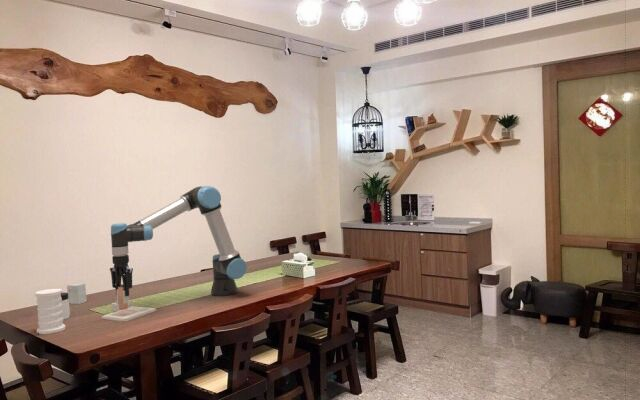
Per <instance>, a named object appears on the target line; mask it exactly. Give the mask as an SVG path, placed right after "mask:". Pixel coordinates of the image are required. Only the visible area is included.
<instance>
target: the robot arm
mask: <svg viewBox="0 0 640 400" xmlns="http://www.w3.org/2000/svg"><path fill="white" fill-rule="evenodd" d="M221 200H222V195H221V193H220V191H219V189H217V188H216V187H214V186H210V185H205V186H197V187H194V188H192V189H190V190H189V191H187V192H186V193H184V194H182V195H180V198H178V199H176V200H175V201H173V202H172V203H169V204H168V205H166V206H164V207H162V208H160V209H158V210H156V211H154V212H152V213H151V214H148V215H147V216H145V217H143V218H141V219H139V220H138V221H136V222H133V223H132V224H131V223H130V224H127V223H125V222H124V223H123V222H121V223H114V224H111V225H110V237H111V239H110V241H111V254H112V258H111V259H112V264H113V267H110V268H109V272H110V275H111V284H112V285H111V287H112V288H113V289H115V295H116V302H117V303H119V299H118V287H119V286H120V285H121V284H123V286H124V289H123V303H128V302H129V301H130V289H132V288H133V271H134V269H133V268H132V267H131V268H130V267H129V263H130V257H129V243H133V242H143V241H145V242H147V241H150V240H152V239H153V236H154V232H153V231H154V229H156V228H158V227H160V226H161V225H163V224H166V223H167V222H169V221H171V220H172V219H174V218H176V217H179V215H181V214H183V213H185V212H191V211H192V210H194V209H199V212H200V215H202V216H204V217H205V220H206V222H207V225H208V227H209V230H210V232H211V235H212V238H213V240H214V241H213V242H215V243H214V244H215V245H216V248H217V251H218V253H219V254H213V255H212V261H211V262H212V272H213V274H212V275H213V276H212V277H213V282H212V285H211V289H210V294H211V295H212V296H217V297H220V296H221V297H224V296H225V297H226V296H231V294H232V295H235V294H237V293H238V292H239V291H238V287H237V284H236V280H239V279H241V278H243V277H244V276H245V274H246V271H247V268H248V267H247V266H248V264H247V262H246V261H245V260H244V259H243V258H241V255H240V252H239V250H236V249H235V246H234V243H233V241H232V239H231V236H230V233H229V230H228V228H227V225H226V222H225V220H224V217H223V214H222V212H221V209H222V204H221Z"/></svg>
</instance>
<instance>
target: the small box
mask: <svg viewBox="0 0 640 400" xmlns="http://www.w3.org/2000/svg"><path fill="white" fill-rule="evenodd" d="M66 288H67V289H66V290H67V292H66V293H68V296H69V303H70V304H71V305H80V304H83V303H86V302H87V290H86V283H81V282H80V283H79V282H78V283H76V282H75V283H70V284H67V285H66ZM70 304H69V305H70Z"/></svg>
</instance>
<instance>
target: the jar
mask: <svg viewBox="0 0 640 400" xmlns="http://www.w3.org/2000/svg"><path fill="white" fill-rule="evenodd" d="M61 298H62V300H61V303H62V311H63V313H62V317H63V320H66V319H69V318H70V316H71V312H70V310H71V309H70V304H69V296H68V293H67V292H62V293H61Z"/></svg>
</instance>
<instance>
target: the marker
mask: <svg viewBox="0 0 640 400" xmlns="http://www.w3.org/2000/svg"><path fill="white" fill-rule="evenodd" d="M123 289H124V286H123V283H121V285H120V286H119V287H118V299H119V310H125V309H128V303H123Z"/></svg>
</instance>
